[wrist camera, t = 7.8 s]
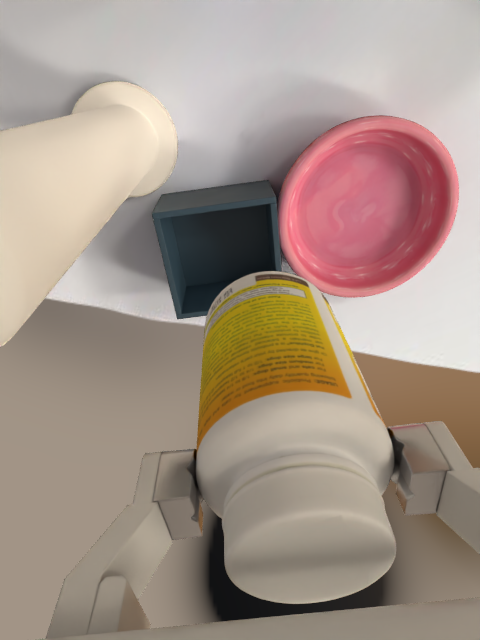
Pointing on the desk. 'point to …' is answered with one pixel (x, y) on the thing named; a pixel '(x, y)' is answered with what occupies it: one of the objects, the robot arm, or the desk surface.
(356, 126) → the saucer
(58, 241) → the candle
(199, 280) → the tub
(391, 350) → the desk surface
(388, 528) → the supplement bottle
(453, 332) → the desk surface
